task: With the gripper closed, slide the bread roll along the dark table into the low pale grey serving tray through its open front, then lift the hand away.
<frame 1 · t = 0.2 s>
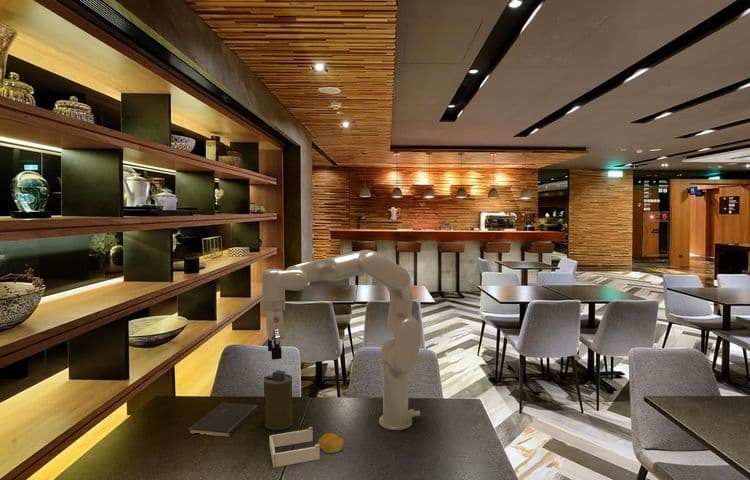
hand: (274, 354, 150), 31 cm above the table, tool pointing down, fingers open, 9 cm apart
bread roll: (330, 447, 149), on the table
hardcover book: (225, 422, 168), on the table
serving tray: (293, 452, 145), on the table
canister: (278, 424, 166), on the table
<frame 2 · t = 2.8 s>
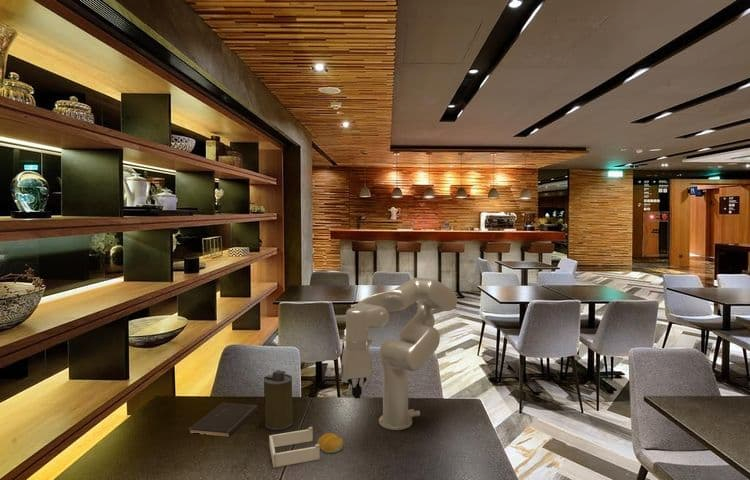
hand: (356, 397, 151), 16 cm above the table, tool pointing down, fingers closed
nothing on the table moved.
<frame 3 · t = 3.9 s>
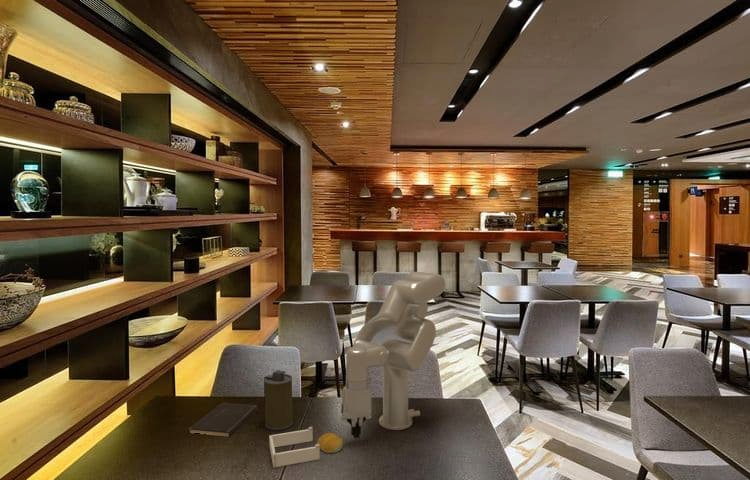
hand: (355, 436, 151), 2 cm above the table, tool pointing down, fingers closed
nothing on the table moved.
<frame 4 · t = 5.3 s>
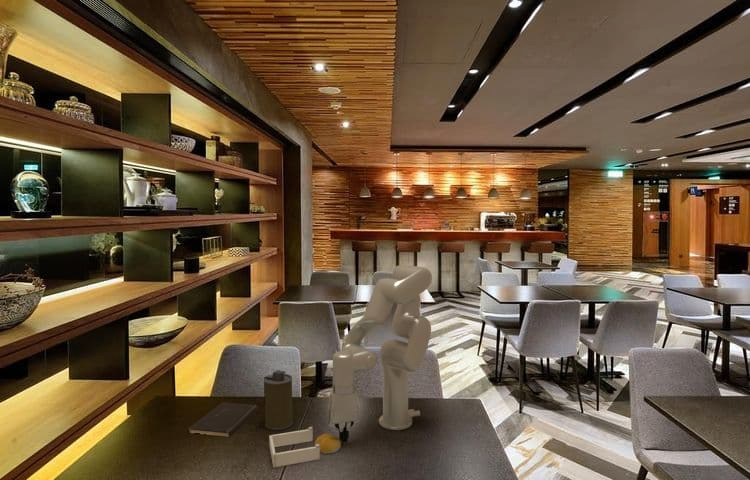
hand: (343, 440, 150), 1 cm above the table, tool pointing down, fingers closed
bread roll: (327, 448, 148), on the table, touching gripper
everything else where it was.
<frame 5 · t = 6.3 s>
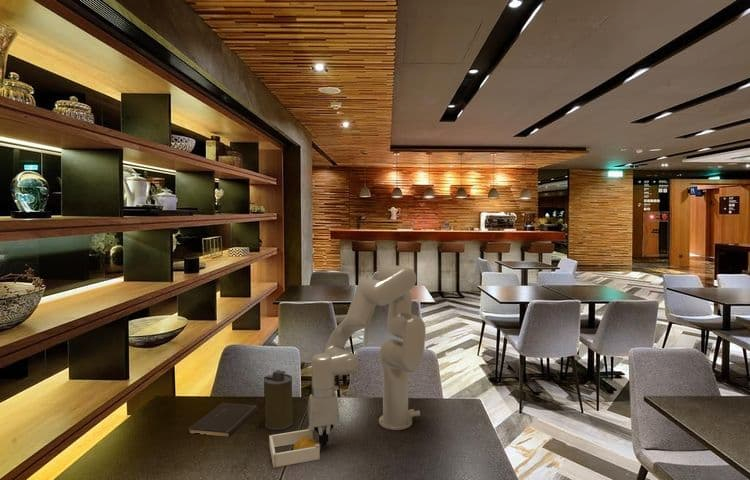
hand: (323, 444, 148), 1 cm above the table, tool pointing down, fingers closed
bread roll: (306, 451, 146), on the table, touching gripper
everything else where it was.
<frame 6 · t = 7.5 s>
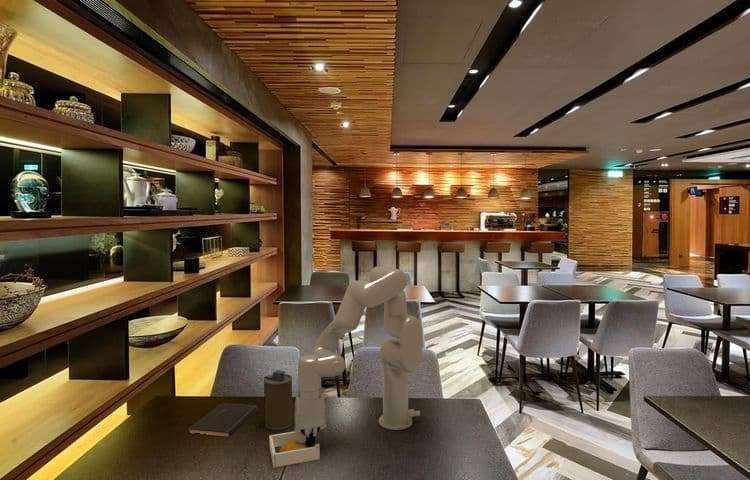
hand: (310, 446, 147), 1 cm above the table, tool pointing down, fingers closed
bread roll: (293, 454, 145), on the table
everything else where it was.
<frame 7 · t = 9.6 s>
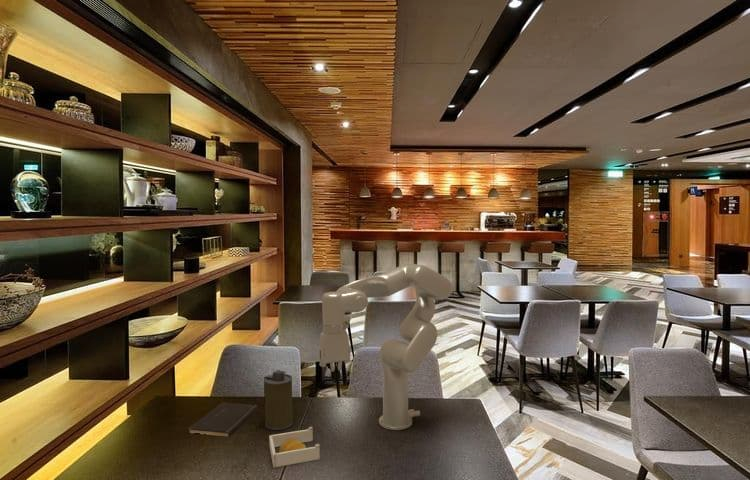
hand: (335, 380, 151), 22 cm above the table, tool pointing down, fingers closed
nothing on the table moved.
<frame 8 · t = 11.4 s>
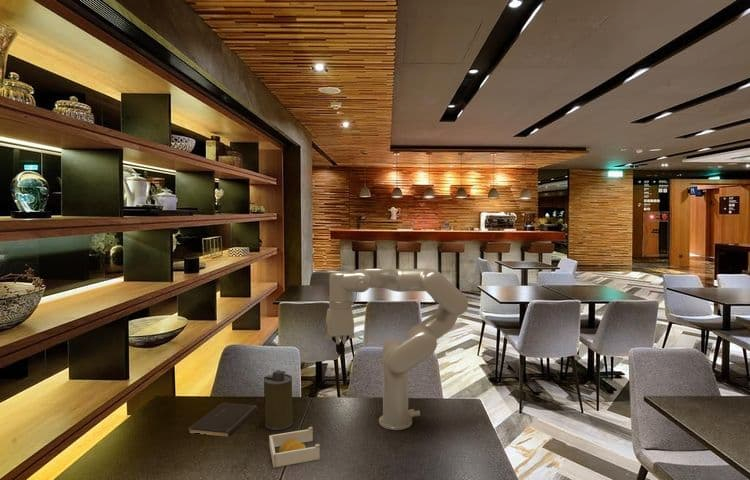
hand: (340, 353, 163), 27 cm above the table, tool pointing down, fingers closed
nothing on the table moved.
at the end: bread roll inside the target area on the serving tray (0.1 cm from its centre), point -0.5 cm above the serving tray's base; bread roll moved 12.9 cm from its start; the gripper is holding nothing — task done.
